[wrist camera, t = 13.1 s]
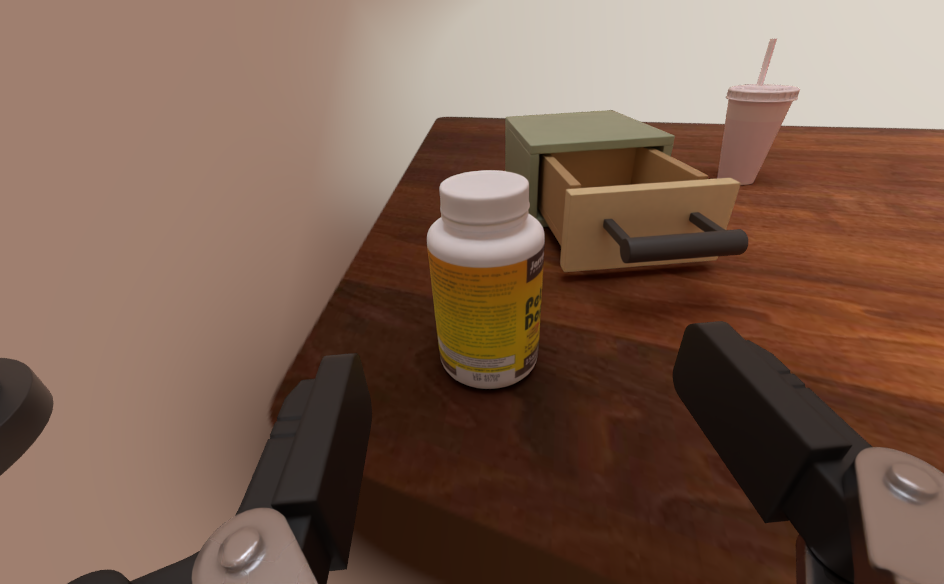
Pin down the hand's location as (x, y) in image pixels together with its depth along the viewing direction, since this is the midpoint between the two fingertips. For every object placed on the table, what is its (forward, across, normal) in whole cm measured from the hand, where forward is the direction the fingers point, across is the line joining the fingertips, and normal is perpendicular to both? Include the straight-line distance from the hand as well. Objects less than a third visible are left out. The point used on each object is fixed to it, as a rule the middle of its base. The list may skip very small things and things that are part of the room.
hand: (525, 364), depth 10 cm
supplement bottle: (+10, 0, -9) cm, 13 cm away
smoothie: (+37, +32, -9) cm, 50 cm away
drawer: (+22, +12, -8) cm, 26 cm away
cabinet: (+35, +12, -9) cm, 38 cm away
